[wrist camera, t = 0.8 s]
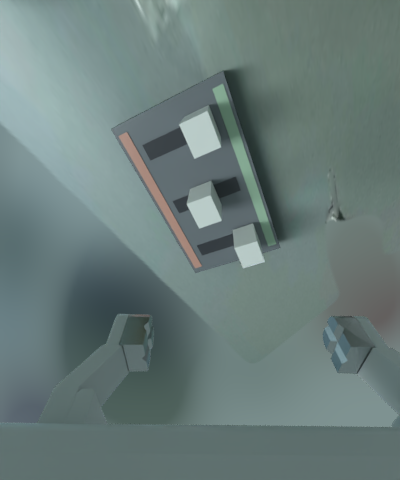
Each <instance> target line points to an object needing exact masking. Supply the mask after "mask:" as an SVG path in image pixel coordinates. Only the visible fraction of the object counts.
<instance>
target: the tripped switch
mask: <svg viewBox="0 0 400 480" xmlns="http://www.w3.org/2000/svg"><path fill="white" fill-rule="evenodd" d="M187 206H188V208H189V210H190V212H191V214H192V216H193V218H194V220H195V222H196V223H197V225H198V227H199V229H200V228H203V227H205V226H208V225H211V224H214V223H217V222H220V221H222V204H221V202H220V200H219V197H218V195H217V193H216V190H215V188H214V186H213V183H212V181H209V182H206V183H204V184H201V185H199V186H196V187H194V188H191V189H190V191H189V196H188V200H187Z"/></svg>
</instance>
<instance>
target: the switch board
mask: <svg viewBox="0 0 400 480" xmlns="http://www.w3.org/2000/svg"><path fill="white" fill-rule="evenodd" d="M207 105H209V107H210V109H211V112H212V115H213V117H214V120H215V123H216V126H217V128H218V131H219V134H220V136H221V148H219V149H216V150H214V151H212V152H209V153H207V154H205V155H202V156H200V157H198V158H195V159H194V157H193V155H192V153H191V150H190V148H189V146H188V144H187V141H186V139H185V137H184V135H183V132H182V130H181V128H180V126H179V124H180V122H181V121H182V119H183V118H184V117H185V116H187V115H189V114H191V113H193V112H195V111H197V110H199V109H201V108H203V107H205V106H207ZM111 130H112V132H113V134H114V135H115V137H116V139H117V140H118V142H119V144H120V145H121V147H122V149H123V151H124V152H125V154H126V156H127V157H128V159H129V161H130V162H131V164H132V166H133V168H134V169H135V171H136V173H137V174H138V176H139V178H140V179H141V181H142V183H143V185H144V186H145V188H146V190H147V191H148V193H149V195H150V196H151V198H152V200H153V202H154V203H155V205H156V207H157V208H158V210H159V212H160V213H161V215H162V217H163V219H164V220H165V222H166V224H167V225H168V227H169V229H170V230H171V232H172V234H173V236H174V237H175V239H176V241H177V242H178V244H179V246H180V247H181V249H182V251H183V253H184V254H185V256H186V258H187V259H188V261H189V263H190V264H191V266H192V268H193V270H194V271H195V273H197V272H200V271H204V270H207V269H211V268H214V267H217V266H221V265H224V264H228V263H231V262H234V261H238V260H239V258H238V255H237V253H236V251H235V249H234V240H233V230H234V229H237V228H240V227H243V226H246V225H249V224H252V223H253V225H254V227H255V230H256V233H257V235H258V238H259V241H260V244H261V248H262V252H263V253H265V252H268V251H272V250H275V249H278V248H280V245H279V242H278V238H277V235H276V232H275V229H274V226H273V223H272V220H271V217H270V214H269V211H268V208H267V205H266V202H265V198H264V195H263V192H262V189H261V186H260V183H259V180H258V177H257V174H256V171H255V168H254V165H253V161H252V158H251V155H250V152H249V149H248V146H247V143H246V140H245V137H244V134H243V131H242V128H241V125H240V121H239V118H238V115H237V112H236V109H235V106H234V103H233V100H232V97H231V94H230V91H229V88H228V84H227V81H226V78H225V75H224V72H223V71H221V72H219V73H217V74H216V75H214V76H212V77H210V78H208V79H206V80H204V81H202V82H200V83H198V84H196V85H194V86H192V87H190V88H189V89H187V90H185V91H183V92H181V93H179V94H177V95H175V96H173V97H171V98H169V99H167V100H165V101H163V102H162V103H160V104H158V105H156V106H154V107H152V108H150V109H148V110H146V111H144V112H142V113H140V114H138V115H136V116H135V117H133V118H131V119H129V120H127V121H125V122H123V123H121V124H119V125H117V126H116V127H114V128H112V129H111ZM209 181H212V183H213V186H214V188H215V190H216V193H217V195H218V197H219V200H220V202H221V204H222V221H220V222H217V223H214V224H211V225H208V226H205V227H203V228H200V229H199V227H198V225H197V223H196V222H195V220H194V218H193V216H192V214H191V212H190V210H189V208H188V206H187V200H188V196H189V191H190V189H191V188H194V187H196V186H199V185H201V184H204V183H206V182H209Z"/></svg>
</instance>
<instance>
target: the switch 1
mask: <svg viewBox="0 0 400 480" xmlns="http://www.w3.org/2000/svg"><path fill="white" fill-rule="evenodd" d="M179 126H180V128H181V130H182V132H183V135H184V137H185V139H186V141H187V144H188V146H189V148H190V150H191V153H192V155H193V157H194V159H195V158H198V157H200V156H202V155H205V154H207V153H209V152H212V151H214V150H216V149H219V148H221V136H220V134H219V131H218V128H217V126H216V123H215V120H214V117H213V115H212V112H211V109H210V107H209V105H207V106H205V107H203V108H201V109H199V110H197V111H195V112H193V113H191V114H189V115H187V116H185V117H184V118H183V119H182V121H181V122H180V124H179Z"/></svg>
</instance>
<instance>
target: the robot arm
mask: <svg viewBox="0 0 400 480" xmlns="http://www.w3.org/2000/svg"><path fill="white" fill-rule="evenodd" d="M327 323H328V325H329V326H327V327H326V328H324V331H323V341H324V345H325V347H326V349H327V350H328V351H329V352H330V353H331V354H332V357H331V360H332V362H333V364H334V366H335V368H336V370H337V372H338V373H353V374H357V375H358V376H359V377H360V378H361V379H362V380H363V381H364V382H365V383H366V384H367V385H368V386H369V387H370V388H372V389H373V390H374V391H375V392H376V393H377V394H378V395H379V396H380V397H381V398H382V399H383V400H384V401H385V402H386V403H387V404H388V405H389V406H391V408H392V409H393V410H394V411H395V412H397V414H399V416H398V417H397V418H396V419H395V420H394V422H393V423H392V427H336V426H335V427H334V426H331V427H330V426H247V425H156V424H152V425H151V424H107V421H106V419H105V416H104V414H103V411H102V409H101V406H102V405H103V404H104V403H105V401H106V400H107V399H108V398H109V396H110V395H111V394H112V393H113V391H114V390H115V389H116V388H117V386H118V385H119V384H120V383H121V381H122V380H123V379H124V378H125V376H126V375H127V374H128V371H148V368H149V363H150V357H151V356H150V350H151V349H152V347H153V340H154V328H153V326H152V316H151V315H138V314H118V315H117V317H116V319H115V322H114V325H113V327H112V330H111V332H110V335H109V338H108V340H107V343H106V345H102V346H101V347H100V348H99V349H97V350H96V351H95V352H94V353H93V354H92V355H91V356H89V357H88V358H87V359H86V360H85V361H84V362H83V363H82V364H80V365H79V366H78V367H77V368H76V369H75V370H74V371H72V372H71V373H70V374H69V375H68V376H67V377H66V378H64V379H63V380H62V381H61V382H60V383H59V384H58V385H57V386H55V388H54V390H53V392H52V394H51V396H50V398H49V400H48V402H47V404H46V406H45V408H44V410H43V412H42V414H41V416H40V418H39V420H38V422H37V423H0V480H400V353H399V352H397V351H396V350H394V349H393V348H389V347H388V346H387V345H386V344H385V342H384V340H383V339H382V338H381V336H380V335H379V333H378V332H377V331H376V329H375V328H374V326H373V325H372V324H371V322H370V321H369V320H368V318H366V317H363V316H362V317H361V316H353V317H352V316H331V317H329V319H328V321H327Z"/></svg>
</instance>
